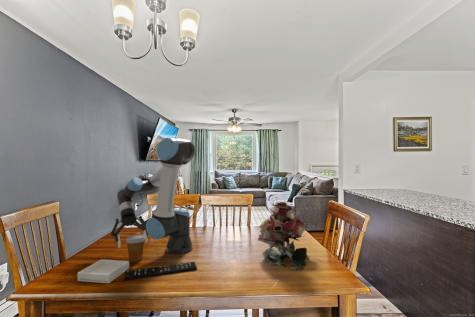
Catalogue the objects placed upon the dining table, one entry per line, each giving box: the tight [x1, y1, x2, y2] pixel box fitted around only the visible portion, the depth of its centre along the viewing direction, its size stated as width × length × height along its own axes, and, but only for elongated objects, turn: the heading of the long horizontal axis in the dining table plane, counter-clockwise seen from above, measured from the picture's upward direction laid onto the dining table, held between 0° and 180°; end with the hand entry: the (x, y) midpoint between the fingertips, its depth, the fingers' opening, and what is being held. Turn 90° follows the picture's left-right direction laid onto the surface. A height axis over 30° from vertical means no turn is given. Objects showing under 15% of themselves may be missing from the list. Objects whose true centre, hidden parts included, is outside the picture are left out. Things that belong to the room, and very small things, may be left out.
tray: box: [77, 259, 130, 284], centre depth 114 cm, size 15×15×4 cm
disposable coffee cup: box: [125, 233, 145, 263], centre depth 131 cm, size 10×10×12 cm
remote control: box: [123, 261, 198, 281], centre depth 117 cm, size 8×32×2 cm, turn 110°
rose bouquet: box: [257, 201, 308, 272], centre depth 133 cm, size 26×29×30 cm
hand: (133, 244), depth 133 cm, fingers open, 13 cm apart
